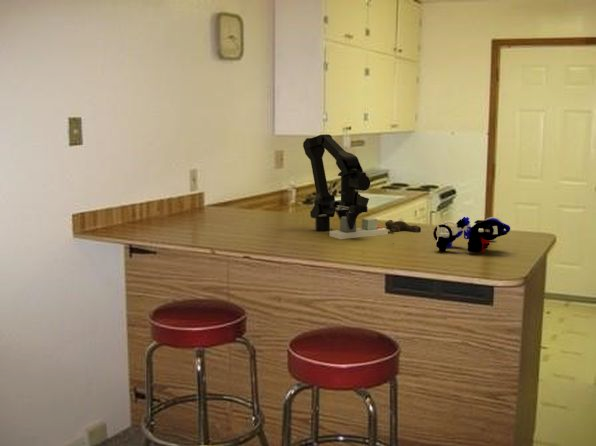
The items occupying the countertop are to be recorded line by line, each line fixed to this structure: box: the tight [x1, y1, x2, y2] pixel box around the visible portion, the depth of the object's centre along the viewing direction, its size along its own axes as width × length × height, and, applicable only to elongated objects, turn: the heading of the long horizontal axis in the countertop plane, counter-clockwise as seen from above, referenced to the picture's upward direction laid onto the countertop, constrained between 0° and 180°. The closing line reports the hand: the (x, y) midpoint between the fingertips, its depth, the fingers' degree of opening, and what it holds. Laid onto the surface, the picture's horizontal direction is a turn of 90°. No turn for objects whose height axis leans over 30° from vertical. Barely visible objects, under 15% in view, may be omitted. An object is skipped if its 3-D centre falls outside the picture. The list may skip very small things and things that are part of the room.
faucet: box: [384, 219, 422, 235], centre depth 279 cm, size 5×17×15 cm
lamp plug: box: [361, 217, 378, 231], centre depth 272 cm, size 4×4×6 cm
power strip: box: [329, 225, 389, 240], centre depth 270 cm, size 22×8×4 cm, turn 118°
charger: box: [339, 216, 357, 233], centre depth 267 cm, size 4×4×7 cm
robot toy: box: [432, 216, 511, 253], centre depth 241 cm, size 16×12×25 cm
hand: (348, 228), depth 267 cm, fingers closed on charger, 4 cm apart
